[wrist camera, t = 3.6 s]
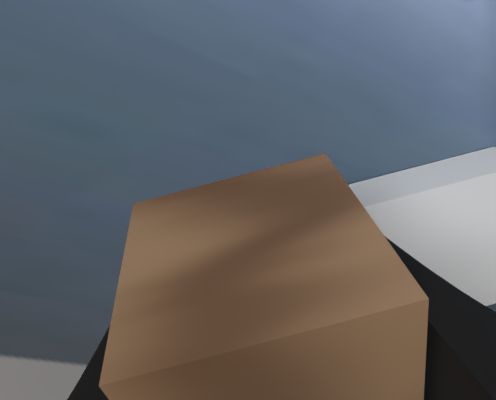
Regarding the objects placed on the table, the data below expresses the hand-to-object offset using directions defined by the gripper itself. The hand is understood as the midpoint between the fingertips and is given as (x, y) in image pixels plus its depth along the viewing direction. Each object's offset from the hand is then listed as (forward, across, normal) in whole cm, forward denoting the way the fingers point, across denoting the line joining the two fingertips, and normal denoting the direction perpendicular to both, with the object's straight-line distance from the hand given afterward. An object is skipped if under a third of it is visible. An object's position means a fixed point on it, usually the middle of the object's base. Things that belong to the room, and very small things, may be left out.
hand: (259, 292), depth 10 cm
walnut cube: (+2, 0, 0) cm, 2 cm away
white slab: (+9, -8, +8) cm, 14 cm away
